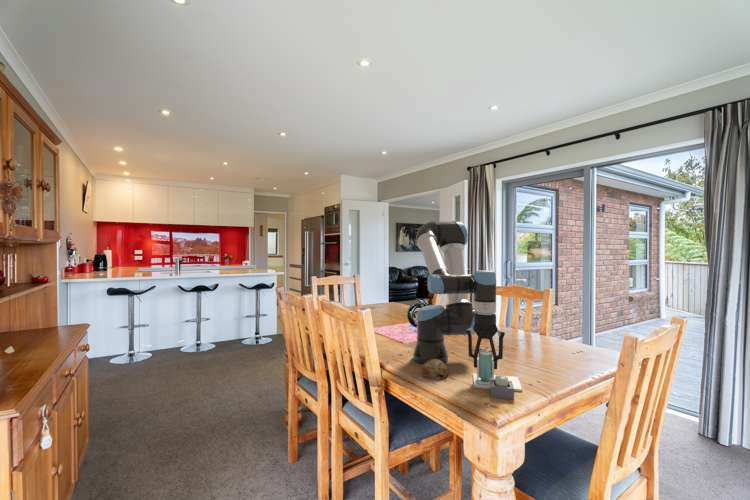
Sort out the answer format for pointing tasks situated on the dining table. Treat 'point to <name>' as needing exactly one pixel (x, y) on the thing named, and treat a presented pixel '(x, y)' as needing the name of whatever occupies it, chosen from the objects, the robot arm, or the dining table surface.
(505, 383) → the button
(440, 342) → the robot arm
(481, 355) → the white-capped teal capsule
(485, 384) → the sheet
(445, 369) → the bread roll
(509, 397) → the button housing
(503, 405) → the dining table surface
